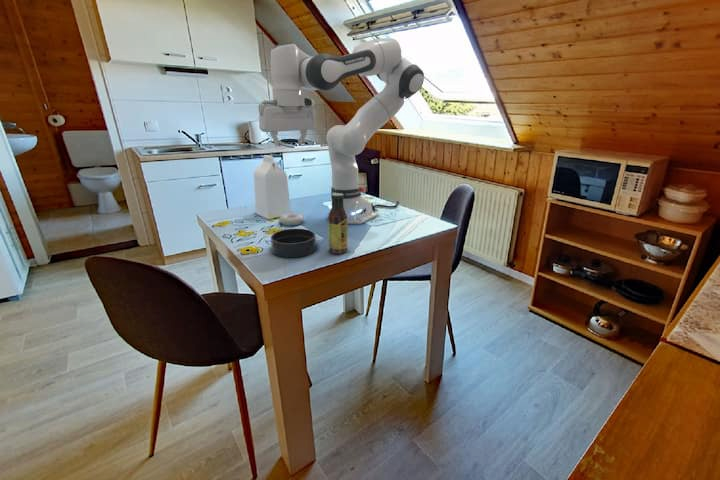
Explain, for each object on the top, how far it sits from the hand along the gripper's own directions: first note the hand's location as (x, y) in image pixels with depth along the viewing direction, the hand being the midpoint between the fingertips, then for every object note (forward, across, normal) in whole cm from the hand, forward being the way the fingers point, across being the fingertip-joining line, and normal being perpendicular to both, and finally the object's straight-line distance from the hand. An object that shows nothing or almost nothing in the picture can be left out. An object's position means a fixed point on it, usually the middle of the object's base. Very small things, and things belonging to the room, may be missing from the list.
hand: (290, 145), depth 116 cm
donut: (+34, +10, +17) cm, 40 cm away
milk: (+34, +12, +34) cm, 50 cm away
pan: (+34, -6, -7) cm, 35 cm away
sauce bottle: (+34, +4, -19) cm, 39 cm away
